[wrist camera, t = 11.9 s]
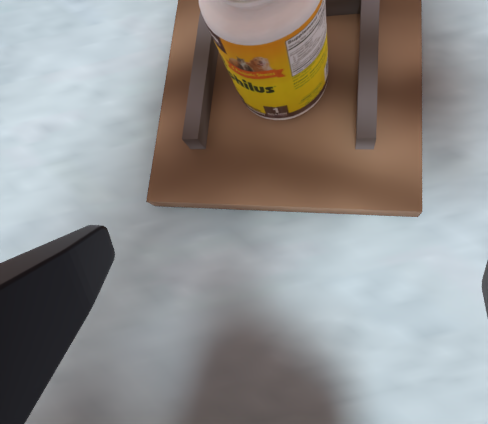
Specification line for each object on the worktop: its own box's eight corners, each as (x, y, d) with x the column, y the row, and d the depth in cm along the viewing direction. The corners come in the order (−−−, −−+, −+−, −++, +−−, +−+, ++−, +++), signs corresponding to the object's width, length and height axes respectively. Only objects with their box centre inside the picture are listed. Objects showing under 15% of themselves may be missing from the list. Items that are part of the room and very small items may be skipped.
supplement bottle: (222, 90, 25) (148, -50, 15) (284, 29, 25) (248, -147, 15) (283, 142, 23) (241, 21, 14) (349, 77, 23) (354, -91, 14)
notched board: (417, 216, 22) (428, 204, 19) (155, 206, 26) (134, 194, 23) (417, -25, 25) (426, -62, 23) (186, -1, 29) (171, -31, 27)
